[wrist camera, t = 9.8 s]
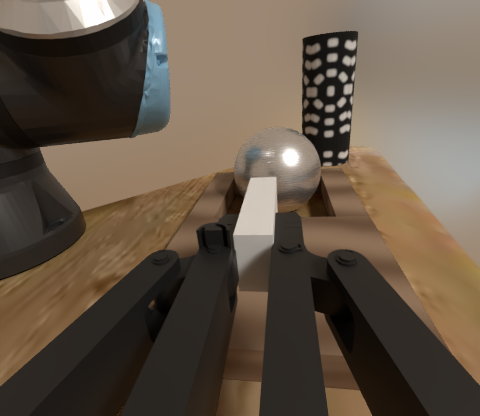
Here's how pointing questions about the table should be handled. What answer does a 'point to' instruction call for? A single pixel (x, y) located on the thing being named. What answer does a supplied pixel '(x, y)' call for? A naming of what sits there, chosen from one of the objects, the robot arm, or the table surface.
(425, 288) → the table surface
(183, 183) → the table surface
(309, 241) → the brown wooden frame
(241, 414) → the table surface
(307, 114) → the white-spotted black cylinder
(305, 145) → the steel ball
